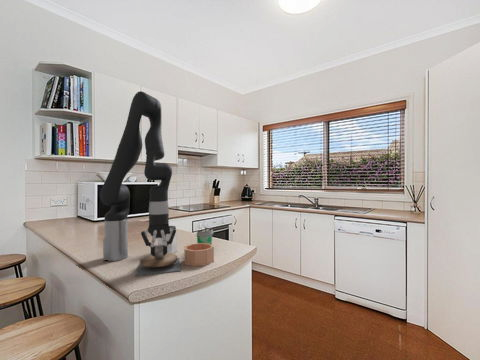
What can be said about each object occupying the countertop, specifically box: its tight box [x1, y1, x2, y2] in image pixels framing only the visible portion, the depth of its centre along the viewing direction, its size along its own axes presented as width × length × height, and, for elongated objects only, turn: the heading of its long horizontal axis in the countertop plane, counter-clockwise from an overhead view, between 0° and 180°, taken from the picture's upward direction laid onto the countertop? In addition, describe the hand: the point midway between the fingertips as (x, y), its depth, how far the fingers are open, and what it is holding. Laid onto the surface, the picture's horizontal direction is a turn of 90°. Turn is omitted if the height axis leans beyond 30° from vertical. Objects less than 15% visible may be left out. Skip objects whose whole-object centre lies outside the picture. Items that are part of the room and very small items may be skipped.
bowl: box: [183, 243, 215, 267], centre depth 103 cm, size 12×12×6 cm
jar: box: [157, 225, 178, 254], centre depth 117 cm, size 9×8×12 cm
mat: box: [134, 257, 182, 277], centre depth 96 cm, size 16×16×1 cm
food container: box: [196, 227, 214, 245], centre depth 120 cm, size 12×6×10 cm, turn 168°
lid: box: [139, 244, 178, 267], centre depth 96 cm, size 14×14×6 cm
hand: (159, 255), depth 96 cm, fingers closed on lid, 3 cm apart
